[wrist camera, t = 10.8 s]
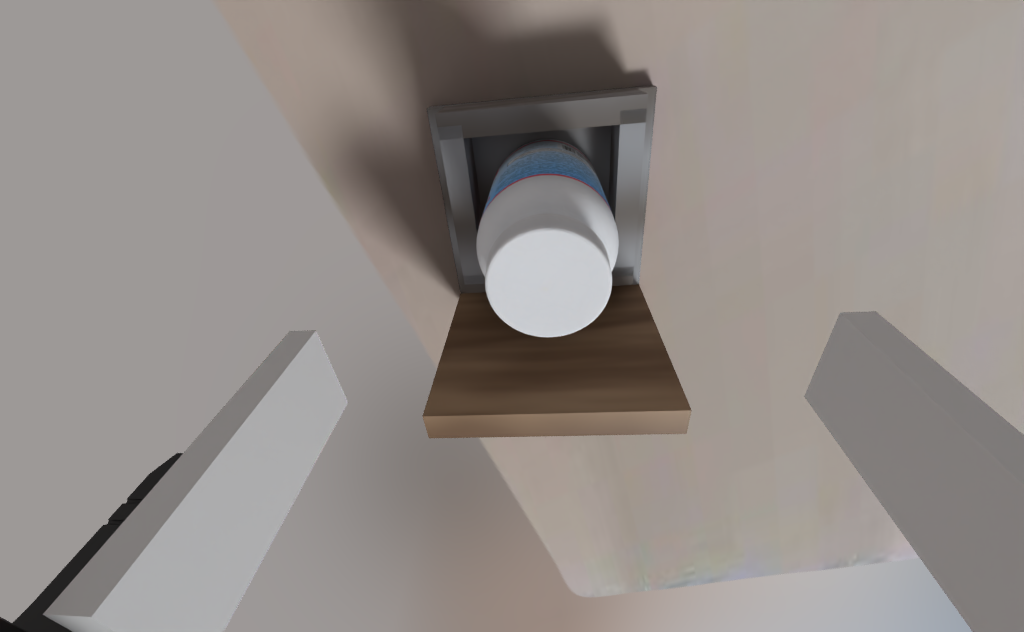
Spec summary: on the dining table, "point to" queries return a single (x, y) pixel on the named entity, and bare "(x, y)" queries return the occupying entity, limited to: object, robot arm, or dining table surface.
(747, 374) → the dining table surface
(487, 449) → the dining table surface
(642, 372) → the cup bracket
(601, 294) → the pill bottle
